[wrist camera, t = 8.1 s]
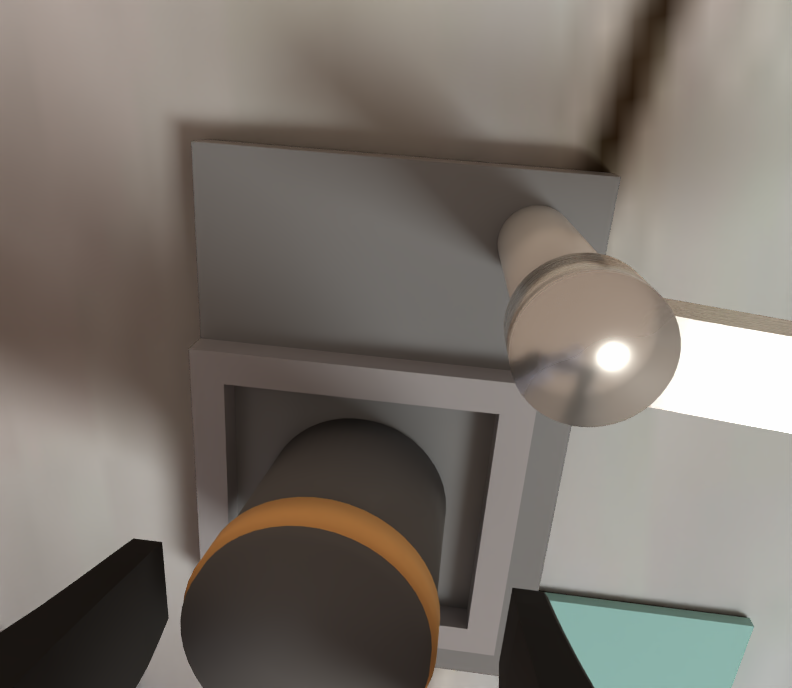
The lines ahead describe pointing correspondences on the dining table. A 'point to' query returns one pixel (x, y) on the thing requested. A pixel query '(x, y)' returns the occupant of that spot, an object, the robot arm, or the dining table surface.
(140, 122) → the dining table surface
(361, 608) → the plug
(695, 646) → the mat
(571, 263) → the brushed metal lever
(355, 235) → the socket
